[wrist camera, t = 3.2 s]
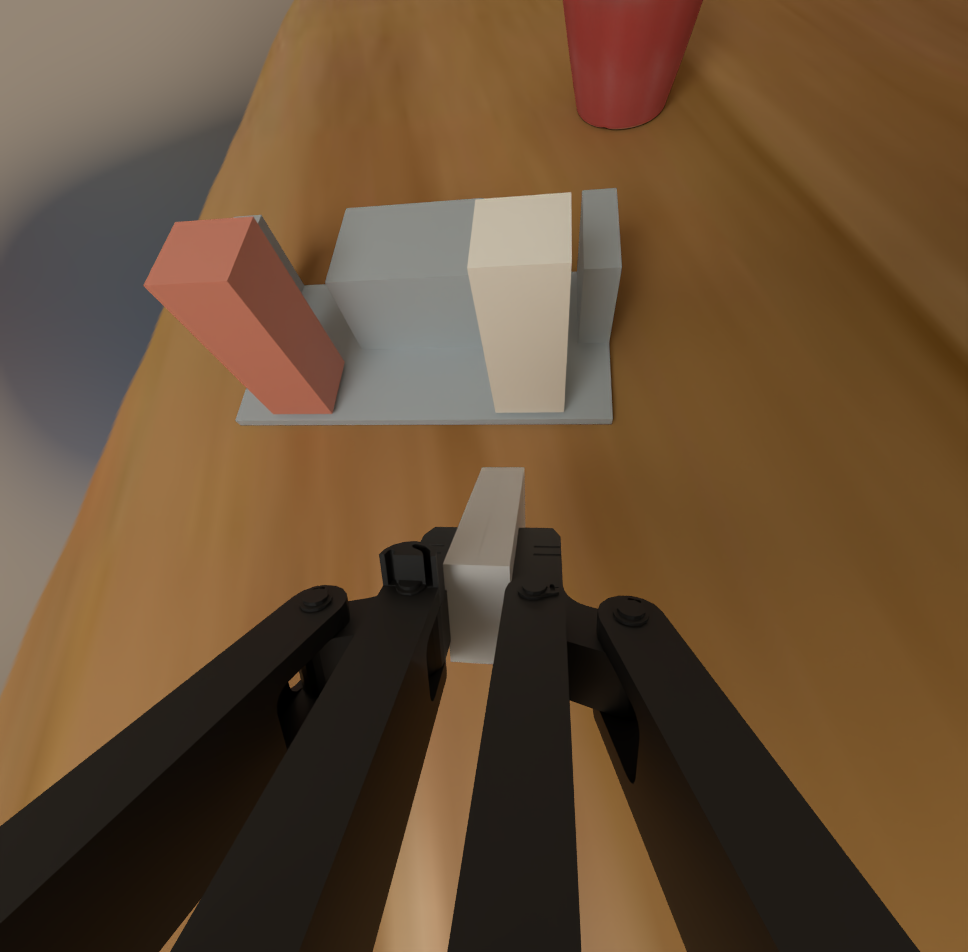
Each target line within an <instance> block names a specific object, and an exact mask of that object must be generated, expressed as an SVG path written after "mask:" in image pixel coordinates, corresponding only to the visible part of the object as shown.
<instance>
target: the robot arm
mask: <svg viewBox="0 0 968 952" xmlns="http://www.w3.org/2000/svg"><path fill="white" fill-rule="evenodd" d="M379 557H380V564H381V572H382V579H383V587H382V589H381V590H380V592H379V594H378V595H377V596H375V597H371V598H366V599H360V600H354V601H348V598H347V594H346V592H345V591H344V590H343V589H342V588H339V587H337V586H330V585H321V586H315V587H312V588H310V589H307V590H304V591H302V592H300V593H298V594H297V595H295V596H293V597H292V598H291V599H290V600H288V601H287V602H286V603H285V604H283V605H282V606H281V607H279V608H278V609H277V610H276V611H274V612H273V613H272V614H271V615H269V616H268V617H267V618H265V619H264V620H263V621H262V622H260V623H259V624H258V625H256V626H255V627H254V628H253V629H251V630H250V631H249V632H248V633H246V634H245V635H244V636H242V637H241V638H240V639H239V640H237V641H236V642H235V643H234V644H232V645H231V646H230V647H228V648H227V649H226V650H225V651H223V652H222V653H221V654H219V655H218V656H217V657H216V658H214V659H213V660H212V661H211V662H209V663H208V664H207V665H205V666H204V667H203V668H202V669H200V670H199V671H198V672H197V673H195V674H194V675H193V676H191V677H190V678H189V679H188V680H186V681H185V682H184V683H182V684H181V685H180V686H179V687H177V688H176V689H175V690H174V691H172V692H171V693H170V694H168V695H167V696H166V697H165V698H163V699H162V700H161V701H160V702H158V703H157V704H156V705H154V706H153V707H152V708H151V709H149V710H148V711H147V712H146V713H144V714H143V715H142V716H140V717H139V718H138V719H137V720H135V721H134V722H133V723H131V724H130V725H129V726H128V727H126V728H125V729H124V730H123V731H121V732H120V733H119V734H117V735H116V736H115V737H114V738H112V739H111V740H110V741H109V742H107V743H106V744H105V745H103V746H102V747H101V748H100V749H98V750H97V751H96V752H94V753H93V754H92V755H91V756H89V757H88V758H87V759H86V760H84V761H83V762H82V763H80V764H79V765H78V766H77V767H75V768H74V769H73V770H72V771H70V772H69V773H68V774H66V775H65V776H64V777H63V778H61V779H60V780H59V781H58V782H56V783H55V784H54V785H52V786H51V787H50V788H49V789H47V790H46V791H45V792H43V793H42V794H41V795H40V796H38V797H37V798H36V799H35V800H33V801H32V802H31V803H29V804H28V805H27V806H26V807H24V808H23V809H22V810H21V811H19V812H18V813H17V814H15V815H14V816H13V817H12V818H10V819H9V820H8V821H6V822H5V823H4V824H3V825H1V826H0V952H159V951H160V950H161V949H162V947H163V946H164V945H165V944H166V942H167V941H168V940H169V939H170V937H171V936H172V935H173V933H174V932H175V931H176V930H177V928H178V927H179V926H180V925H181V923H182V922H183V921H184V920H185V918H186V917H187V916H188V914H189V913H190V912H191V911H192V909H193V908H194V907H195V906H196V904H197V903H198V902H199V903H198V905H197V907H196V908H195V910H194V912H193V913H192V915H191V917H190V919H189V920H188V922H187V924H186V926H185V927H184V929H183V931H182V932H181V934H180V936H179V938H178V939H177V941H176V943H175V944H174V946H173V948H172V950H171V951H170V952H373V948H374V944H375V941H376V937H377V933H378V930H379V926H380V922H381V918H382V915H383V911H384V907H385V904H386V900H387V896H388V893H389V889H390V885H391V881H392V878H393V874H394V870H395V867H396V863H397V859H398V856H399V852H400V848H401V844H402V841H403V837H404V833H405V830H406V826H407V822H408V819H409V815H410V811H411V807H412V804H413V800H414V796H415V793H416V789H417V785H418V782H419V778H420V774H421V770H422V767H423V763H424V759H425V756H426V752H427V748H428V745H429V741H430V737H431V733H432V730H433V726H434V722H435V719H436V715H437V711H438V707H439V704H440V700H441V696H442V693H443V689H444V685H445V682H446V678H447V669H446V656H447V652H448V649H449V645H450V657H451V662H466V663H482V664H493V669H492V675H491V681H490V687H489V694H488V700H487V706H486V713H485V719H484V725H483V731H482V738H481V744H480V750H479V757H478V763H477V769H476V775H475V782H474V788H473V794H472V801H471V807H470V813H469V819H468V826H467V832H466V838H465V845H464V851H463V857H462V863H461V870H460V876H459V882H458V889H457V895H456V901H455V907H454V914H453V920H452V926H451V933H450V939H449V945H448V951H447V952H581V934H580V913H579V892H578V870H577V849H576V828H575V807H574V785H573V764H572V743H571V722H570V701H573V702H576V703H579V704H582V705H585V706H587V707H590V708H593V714H594V718H595V721H596V723H597V726H598V728H599V731H600V733H601V736H602V738H603V741H604V744H605V746H606V749H607V751H608V754H609V756H610V759H611V761H612V764H613V766H614V769H615V771H616V774H617V776H618V779H619V781H620V784H621V786H622V789H623V791H624V794H625V797H626V799H627V802H628V804H629V807H630V809H631V812H632V814H633V817H634V819H635V822H636V824H637V827H638V829H639V832H640V834H641V837H642V839H643V842H644V844H645V847H646V849H647V852H648V855H649V857H650V860H651V862H652V865H653V867H654V870H655V872H656V875H657V877H658V880H659V882H660V885H661V887H662V890H663V892H664V895H665V897H666V900H667V902H668V905H669V908H670V910H671V913H672V915H673V918H674V920H675V923H676V925H677V928H678V930H679V933H680V935H681V938H682V940H683V943H684V945H685V948H686V950H687V952H920V951H919V950H918V948H917V947H916V946H915V944H914V943H913V942H912V940H911V939H910V938H909V936H908V935H907V934H906V932H905V931H904V930H903V929H902V927H901V926H900V925H899V923H898V922H897V921H896V919H895V918H894V917H893V915H892V914H891V913H890V911H889V910H888V909H887V907H886V906H885V905H884V903H883V902H882V901H881V899H880V898H879V897H878V896H877V894H876V893H875V892H874V890H873V889H872V888H871V886H870V885H869V884H868V882H867V881H866V880H865V878H864V877H863V876H862V874H861V873H860V872H859V870H858V869H857V868H856V867H855V865H854V864H853V863H852V861H851V860H850V859H849V857H848V856H847V855H846V853H845V852H844V851H843V849H842V848H841V847H840V845H839V844H838V843H837V841H836V840H835V839H834V838H833V836H832V835H831V834H830V832H829V831H828V830H827V828H826V827H825V826H824V824H823V823H822V822H821V820H820V819H819V818H818V816H817V815H816V814H815V812H814V811H813V810H812V809H811V807H810V806H809V805H808V803H807V802H806V801H805V799H804V798H803V797H802V795H801V794H800V793H799V791H798V790H797V789H796V787H795V786H794V785H793V783H792V782H791V781H790V779H789V778H788V777H787V776H786V774H785V773H784V772H783V770H782V769H781V768H780V766H779V765H778V764H777V762H776V761H775V760H774V758H773V757H772V756H771V754H770V753H769V752H768V750H767V749H766V748H765V747H764V745H763V744H762V743H761V741H760V740H759V739H758V737H757V736H756V735H755V733H754V732H753V731H752V729H751V728H750V727H749V725H748V724H747V723H746V721H745V720H744V719H743V718H742V716H741V715H740V714H739V712H738V711H737V710H736V708H735V707H734V706H733V704H732V703H731V702H730V700H729V699H728V698H727V696H726V695H725V694H724V692H723V691H722V690H721V689H720V687H719V686H718V685H717V683H716V682H715V681H714V679H713V678H712V677H711V675H710V674H709V673H708V671H707V670H706V669H705V667H704V666H703V665H702V663H701V662H700V661H699V659H698V658H697V657H696V656H695V654H694V653H693V652H692V650H691V649H690V648H689V646H688V645H687V644H686V642H685V641H684V640H683V638H682V637H681V636H680V634H679V633H678V632H677V630H676V629H675V628H674V627H673V625H672V624H671V623H670V621H669V620H668V619H667V617H666V616H665V615H664V613H663V612H662V611H661V610H660V609H659V608H658V607H657V606H655V605H654V604H653V603H650V602H648V601H646V600H644V599H641V598H637V597H633V596H616V597H611V598H608V599H606V600H605V601H603V602H602V603H601V604H600V606H599V608H598V609H596V608H592V607H589V606H586V605H583V604H580V603H578V602H576V601H574V600H573V599H571V598H570V597H569V596H568V595H567V594H566V592H565V591H564V588H563V581H562V560H561V539H560V536H559V535H558V534H557V532H556V531H555V530H554V529H553V528H525V469H524V467H482V469H481V472H480V474H479V477H478V479H477V481H476V484H475V486H474V489H473V491H472V494H471V496H470V499H469V501H468V504H467V506H466V508H465V511H464V513H463V516H462V518H461V521H460V523H459V526H458V527H435V528H433V529H432V530H430V531H429V532H428V533H426V534H425V535H424V536H423V538H422V540H421V542H417V541H411V542H402V543H398V544H394V545H392V546H390V547H388V548H386V549H384V550H383V551H382V552H381V553H380V554H379ZM297 672H299V673H300V678H301V680H300V681H299V682H298V683H297V684H296V685H295V686H293V687H292V688H290V687H289V683H288V681H289V680H290V679H291V678H292V677H293V676H294V675H295V674H296V673H297ZM200 899H201V900H200Z"/></svg>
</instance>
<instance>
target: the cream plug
mask: <svg viewBox="0 0 968 952" xmlns="http://www.w3.org/2000/svg"><path fill="white" fill-rule="evenodd" d="M571 265H572V238H571V192H569V193H556V194H543V195H529V196H516V197H503V198H490V199H477V200H475V206H474V215H473V223H472V231H471V240H470V248H469V256H468V265H467V270H468V276H469V281H470V286H471V291H472V296H473V301H474V306H475V311H476V316H477V321H478V326H479V331H480V336H481V341H482V346H483V352H484V357H485V362H486V367H487V372H488V377H489V382H490V387H491V392H492V397H493V402H494V407H495V412H496V413H537V412H564V404H565V384H566V364H567V344H568V325H569V305H570V285H571Z"/></svg>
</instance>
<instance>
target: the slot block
mask: <svg viewBox="0 0 968 952" xmlns="http://www.w3.org/2000/svg"><path fill="white" fill-rule="evenodd" d="M478 199H484V198H478ZM475 200H477V199H464V200H451V201H438V202H425V203H412V204H399V205H385V206H372V207H359V208H346V211H345V215H344V218H343V222H342V225H341V229H340V232H339V236H338V239H337V243H336V246H335V249H334V253H333V256H332V260H331V263H330V267H329V270H328V274H327V277H326V281H325V284H323V285H304V284H303V283H302V281H301V279H300V278H299V276H298V274H297V273H296V271H295V269H294V268H293V266H292V264H291V263H290V261H289V260H288V258H287V256H286V255H285V253H284V251H283V250H282V248H281V246H280V245H279V243H278V241H277V240H276V238H275V237H274V235H273V233H272V232H271V230H270V228H269V227H268V225H267V223H266V222H265V220H264V219H263V217H262V215H254V216H253V217H254V218H255V220H256V222H257V223H258V225H259V226H260V228H261V230H262V231H263V233H264V234H265V236H266V238H267V239H268V241H269V242H270V244H271V245H272V247H273V249H274V250H275V252H276V253H277V255H278V257H279V258H280V260H281V261H282V263H283V265H284V266H285V268H286V269H287V271H288V273H289V274H290V276H291V277H292V279H293V280H294V282H295V284H296V285H297V287H298V288H299V290H300V292H301V293H302V295H303V296H304V298H305V300H306V301H307V303H308V304H309V306H310V308H311V309H312V311H313V312H314V314H315V315H316V317H317V319H318V320H319V322H320V323H321V325H322V327H323V328H324V330H325V331H326V333H327V335H328V336H329V338H330V339H331V341H332V343H333V344H334V346H335V347H336V349H337V350H338V352H339V354H340V355H341V357H342V358H343V360H344V362H345V363H344V367H343V372H342V376H341V380H340V384H339V388H338V392H337V397H336V401H335V405H334V409H333V413H332V414H272V413H271V412H270V411H269V410H268V409H267V408H266V407H265V406H264V405H263V404H262V403H261V402H260V401H259V400H258V399H257V398H256V397H255V396H254V395H253V394H252V393H251V392H250V391H249V390H248V389H247V388H246V391H245V394H244V397H243V400H242V403H241V406H240V408H239V411H238V414H237V417H236V420H235V421H236V422H237V423H239V424H240V425H462V424H612V420H613V415H612V393H611V372H610V351H609V340H610V334H611V329H612V323H613V317H614V311H615V305H616V299H617V293H618V288H619V282H620V276H621V270H622V261H621V246H620V231H619V216H618V201H617V188H609V189H596V190H583V191H582V203H581V218H580V234H579V249H578V265H577V272H571V285H570V305H569V325H568V344H567V364H566V384H565V404H564V412H537V413H496V412H495V407H494V402H493V397H492V392H491V387H490V382H489V377H488V372H487V367H486V362H485V357H484V352H483V346H482V341H481V336H480V331H479V326H478V321H477V316H476V311H475V306H474V301H473V296H472V291H471V286H470V281H469V276H468V270H467V265H468V256H469V248H470V240H471V231H472V223H473V215H474V206H475ZM240 217H252V216H240ZM234 218H238V217H234Z"/></svg>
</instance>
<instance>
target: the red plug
mask: <svg viewBox="0 0 968 952" xmlns="http://www.w3.org/2000/svg"><path fill="white" fill-rule="evenodd" d="M144 287H145V288H146V289H148V290H149V292H150V293H152V295H153V296H154V297H155V298H156V299H157V300H159V301H160V302H161V303H162V304H163V305H164V306H165V307H166V308H167V309H168V310H169V311H170V312H171V313H172V314H173V315H174V316H175V317H176V318H177V319H178V320H179V321H180V322H181V323H182V324H183V325H184V326H185V327H186V328H187V329H188V330H189V331H190V332H191V333H192V334H193V335H194V336H195V337H196V338H197V339H198V340H199V341H200V342H201V343H202V344H203V345H204V346H205V347H206V348H207V349H208V350H209V351H210V352H211V353H212V354H213V355H214V356H215V357H216V358H217V359H218V360H219V361H220V362H221V363H222V364H223V365H224V366H225V367H226V368H227V369H228V370H229V371H230V372H231V373H232V374H233V375H234V376H235V377H236V378H237V379H238V380H239V381H240V382H241V383H242V384H243V385H244V386H245V387H246V388H247V389H248V390H249V391H250V392H251V393H252V394H253V395H254V396H255V397H256V398H257V399H258V400H259V401H260V402H261V403H262V404H263V405H264V406H265V407H266V408H267V409H268V410H269V411H270V412H271V413H272V414H332V413H333V409H334V405H335V401H336V397H337V392H338V388H339V384H340V380H341V376H342V372H343V367H344V363H345V362H344V360H343V358H342V357H341V355H340V354H339V352H338V350H337V349H336V347H335V346H334V344H333V343H332V341H331V339H330V338H329V336H328V335H327V333H326V331H325V330H324V328H323V327H322V325H321V323H320V322H319V320H318V319H317V317H316V315H315V314H314V312H313V311H312V309H311V308H310V306H309V304H308V303H307V301H306V300H305V298H304V296H303V295H302V293H301V292H300V290H299V288H298V287H297V285H296V284H295V282H294V280H293V279H292V277H291V276H290V274H289V273H288V271H287V269H286V268H285V266H284V265H283V263H282V261H281V260H280V258H279V257H278V255H277V253H276V252H275V250H274V249H273V247H272V245H271V244H270V242H269V241H268V239H267V238H266V236H265V234H264V233H263V231H262V230H261V228H260V226H259V225H258V223H257V222H256V220H255V218H254V217H253V216H252V217H238V218H225V219H212V220H199V221H186V222H175V224H174V226H173V228H172V230H171V232H170V234H169V236H168V238H167V240H166V242H165V244H164V246H163V248H162V250H161V252H160V254H159V256H158V258H157V260H156V262H155V264H154V266H153V268H152V270H151V272H150V274H149V276H148V278H147V280H146V281H145V283H144Z"/></svg>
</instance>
